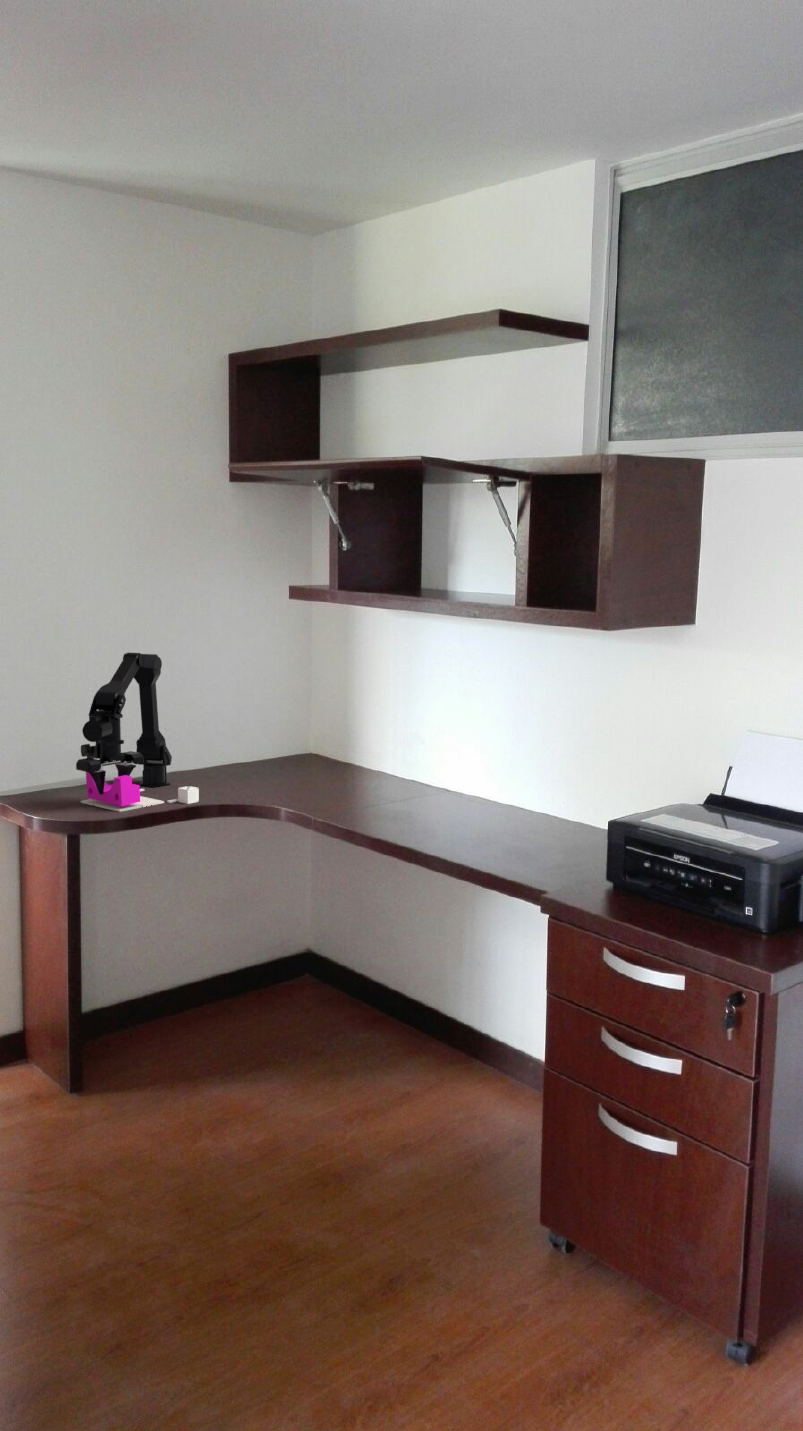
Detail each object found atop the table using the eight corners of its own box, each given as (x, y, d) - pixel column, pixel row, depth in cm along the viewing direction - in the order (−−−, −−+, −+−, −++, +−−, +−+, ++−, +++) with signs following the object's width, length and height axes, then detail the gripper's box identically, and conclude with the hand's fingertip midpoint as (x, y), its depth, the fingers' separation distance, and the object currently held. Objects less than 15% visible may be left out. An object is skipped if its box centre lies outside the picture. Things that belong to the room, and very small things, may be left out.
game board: (142, 790, 345) (142, 788, 345) (186, 799, 334) (186, 797, 333) (78, 802, 328) (78, 800, 328) (122, 812, 316) (122, 810, 316)
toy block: (140, 801, 322) (139, 774, 321) (121, 806, 317) (120, 779, 316) (105, 793, 331) (104, 767, 330) (87, 797, 327) (85, 771, 325)
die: (189, 799, 334) (188, 785, 333) (198, 802, 331) (198, 787, 331) (178, 802, 331) (178, 787, 330) (187, 804, 328) (187, 789, 328)
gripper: (118, 729, 334) (119, 783, 337) (62, 736, 320) (64, 793, 322) (144, 733, 328) (145, 788, 330) (88, 741, 313) (89, 799, 315)
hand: (111, 792), depth 325 cm, fingers closed on toy block, 6 cm apart
